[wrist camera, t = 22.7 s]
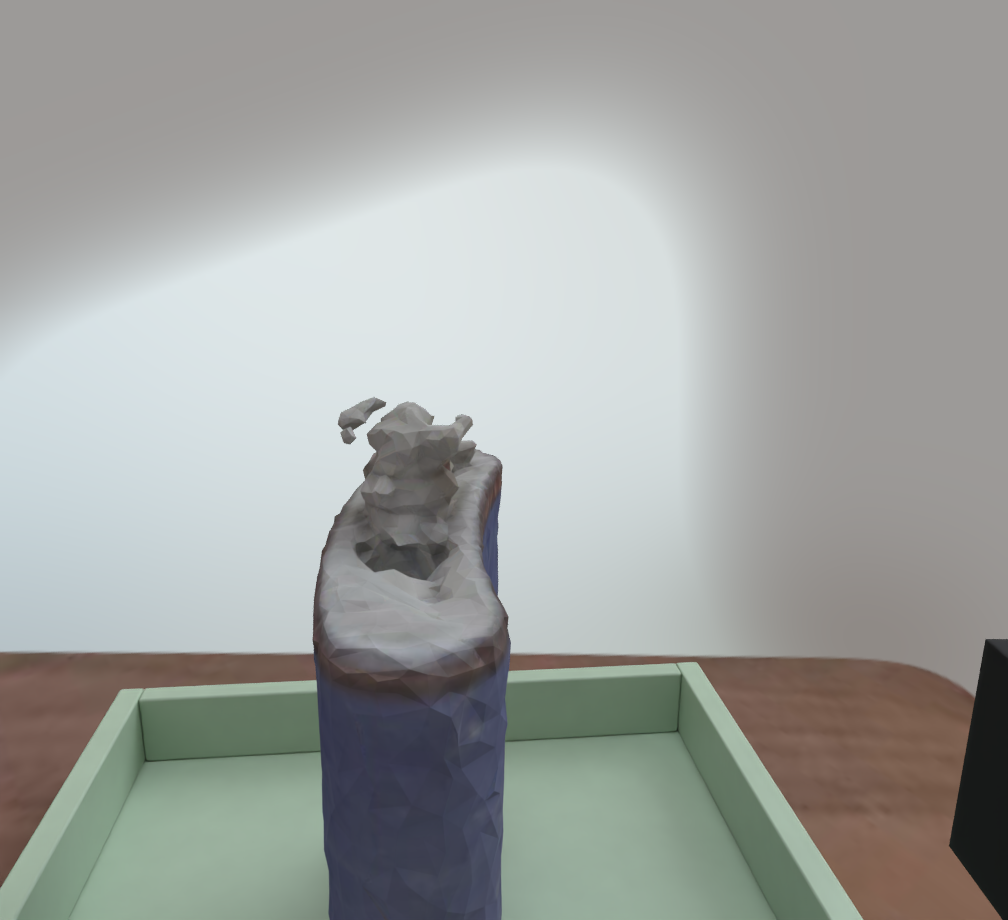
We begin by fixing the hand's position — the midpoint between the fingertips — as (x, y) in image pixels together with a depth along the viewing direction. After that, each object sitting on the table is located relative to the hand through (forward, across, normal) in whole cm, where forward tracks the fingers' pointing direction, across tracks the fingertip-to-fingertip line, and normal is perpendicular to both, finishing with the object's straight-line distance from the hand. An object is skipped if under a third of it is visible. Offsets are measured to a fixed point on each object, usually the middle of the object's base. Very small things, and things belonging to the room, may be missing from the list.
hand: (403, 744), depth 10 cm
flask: (+4, 0, -8) cm, 9 cm away
